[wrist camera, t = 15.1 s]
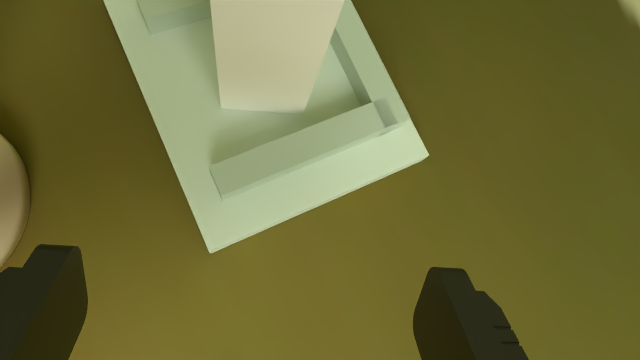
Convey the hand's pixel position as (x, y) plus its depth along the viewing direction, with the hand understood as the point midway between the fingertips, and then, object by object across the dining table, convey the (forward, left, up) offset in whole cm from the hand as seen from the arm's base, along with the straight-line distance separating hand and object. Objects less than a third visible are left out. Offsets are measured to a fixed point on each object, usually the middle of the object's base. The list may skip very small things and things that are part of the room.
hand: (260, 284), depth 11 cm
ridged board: (-8, +4, -8) cm, 12 cm away
